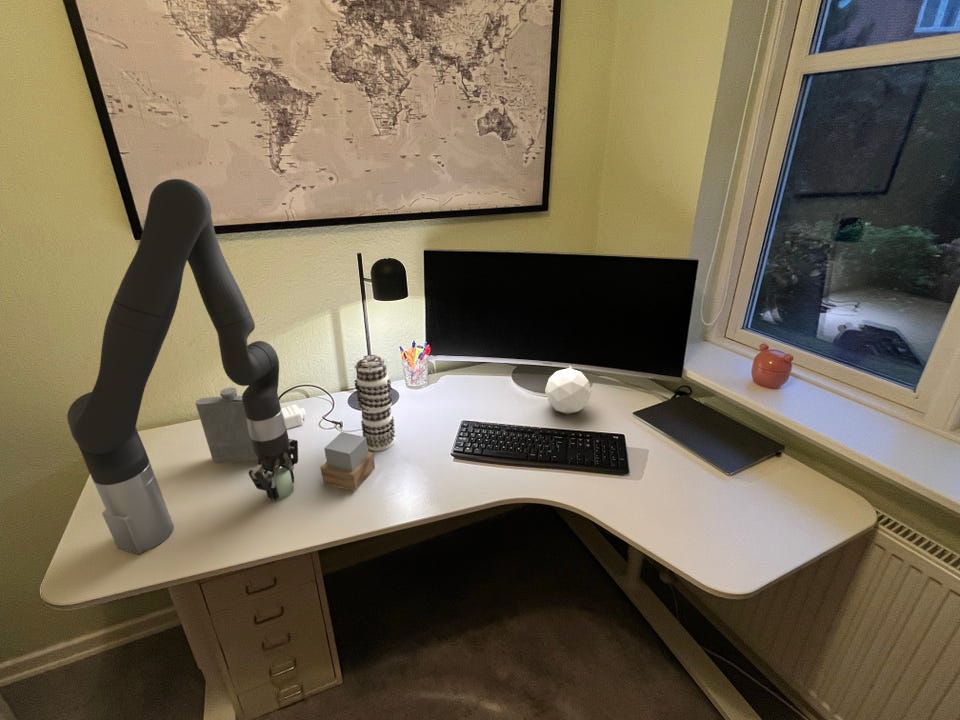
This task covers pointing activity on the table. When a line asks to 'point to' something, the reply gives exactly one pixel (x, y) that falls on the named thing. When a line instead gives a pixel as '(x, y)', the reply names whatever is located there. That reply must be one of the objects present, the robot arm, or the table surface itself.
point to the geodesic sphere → (568, 390)
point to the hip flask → (226, 427)
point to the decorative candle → (375, 402)
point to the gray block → (346, 451)
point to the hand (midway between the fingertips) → (282, 490)
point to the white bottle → (293, 416)
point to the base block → (348, 474)
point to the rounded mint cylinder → (283, 483)
